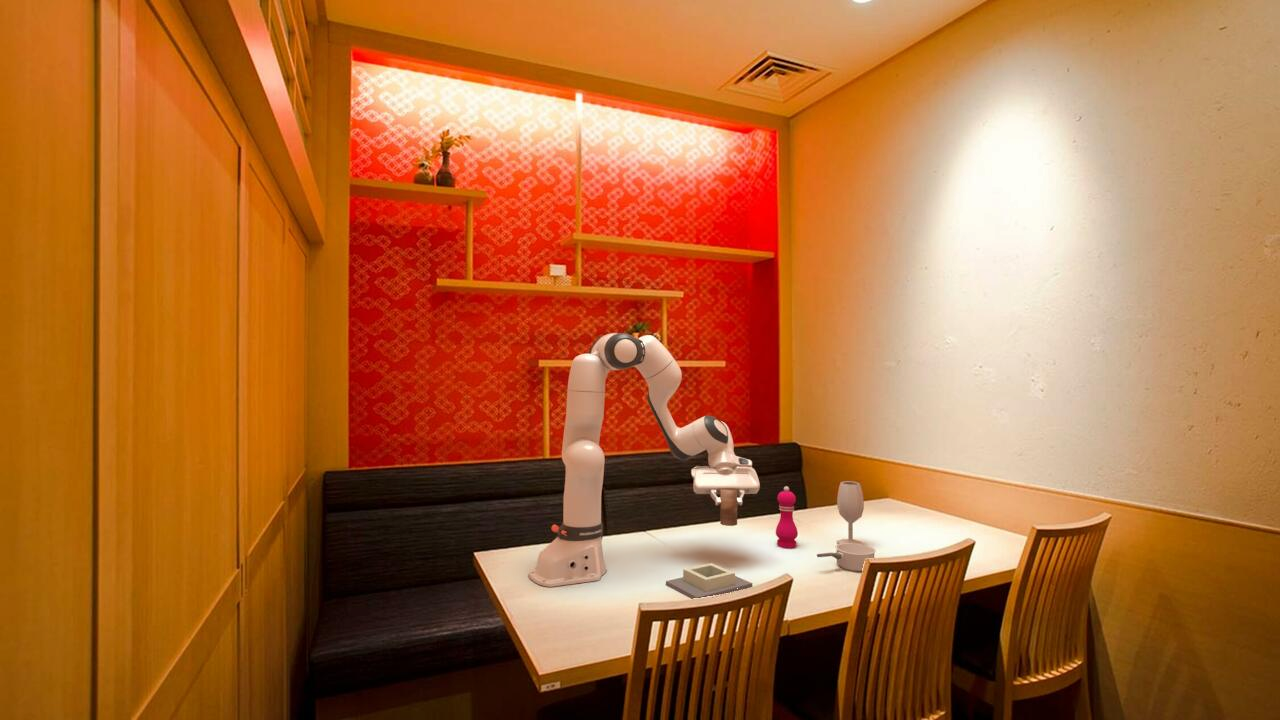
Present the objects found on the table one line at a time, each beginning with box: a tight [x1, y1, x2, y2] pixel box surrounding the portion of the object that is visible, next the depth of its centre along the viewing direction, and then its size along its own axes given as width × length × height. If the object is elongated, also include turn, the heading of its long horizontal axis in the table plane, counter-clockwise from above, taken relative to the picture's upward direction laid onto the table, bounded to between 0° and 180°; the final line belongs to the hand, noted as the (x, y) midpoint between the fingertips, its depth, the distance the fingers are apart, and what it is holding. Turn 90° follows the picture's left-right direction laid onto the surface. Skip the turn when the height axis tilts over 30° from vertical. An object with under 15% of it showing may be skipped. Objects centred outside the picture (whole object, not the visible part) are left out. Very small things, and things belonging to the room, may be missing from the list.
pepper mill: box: [775, 485, 799, 549], centre depth 200 cm, size 7×7×20 cm
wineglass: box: [836, 481, 866, 545], centre depth 201 cm, size 9×9×21 cm
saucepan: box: [816, 543, 876, 572], centre depth 177 cm, size 12×20×6 cm, turn 114°
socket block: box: [665, 562, 753, 600], centre depth 162 cm, size 19×14×4 cm
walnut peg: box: [719, 489, 738, 527], centre depth 178 cm, size 5×5×10 cm
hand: (729, 504), depth 177 cm, fingers closed on walnut peg, 5 cm apart
